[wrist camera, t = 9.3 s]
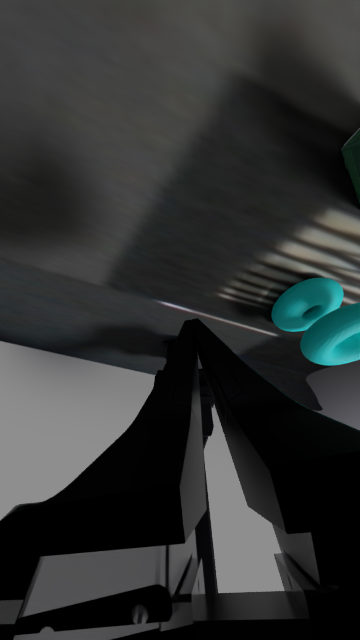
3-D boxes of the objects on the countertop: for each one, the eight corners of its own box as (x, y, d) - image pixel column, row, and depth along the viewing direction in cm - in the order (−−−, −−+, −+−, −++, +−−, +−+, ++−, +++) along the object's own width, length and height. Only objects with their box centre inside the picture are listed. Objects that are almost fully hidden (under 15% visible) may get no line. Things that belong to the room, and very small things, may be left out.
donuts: (354, 313, 13) (448, 310, 13) (284, 275, 21) (345, 274, 21) (296, 371, 19) (362, 367, 20) (259, 324, 27) (307, 323, 27)
